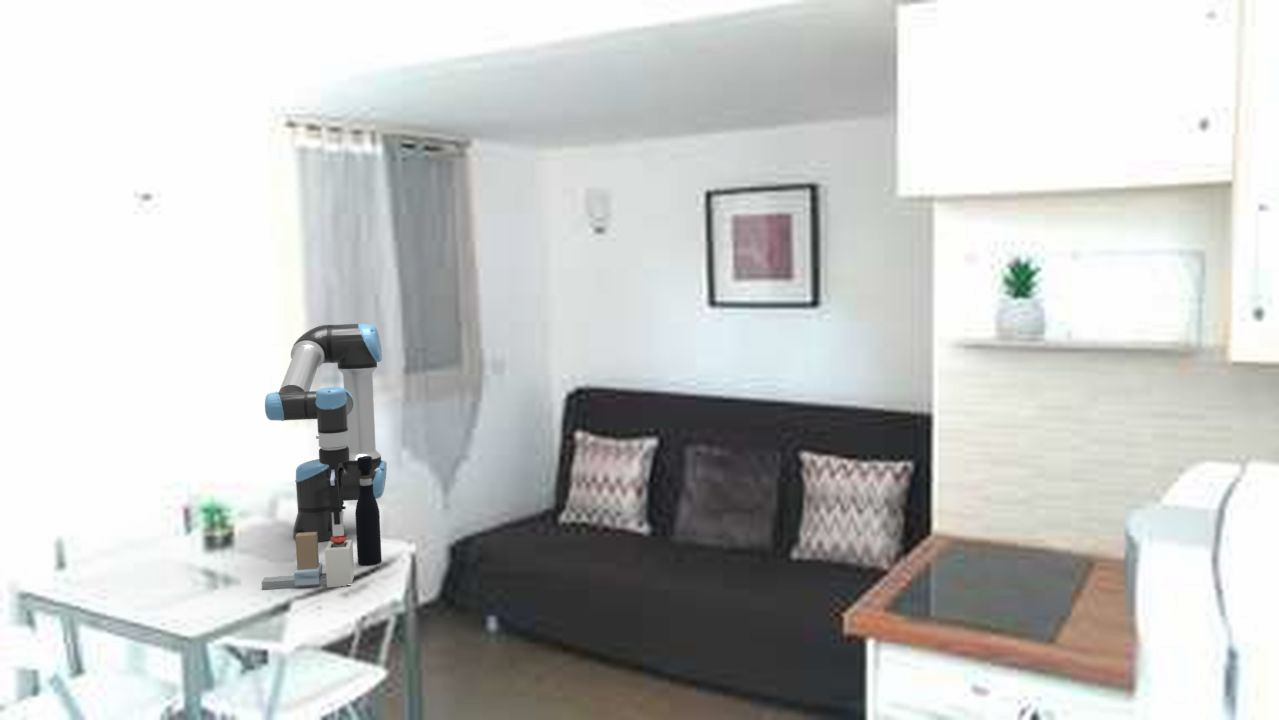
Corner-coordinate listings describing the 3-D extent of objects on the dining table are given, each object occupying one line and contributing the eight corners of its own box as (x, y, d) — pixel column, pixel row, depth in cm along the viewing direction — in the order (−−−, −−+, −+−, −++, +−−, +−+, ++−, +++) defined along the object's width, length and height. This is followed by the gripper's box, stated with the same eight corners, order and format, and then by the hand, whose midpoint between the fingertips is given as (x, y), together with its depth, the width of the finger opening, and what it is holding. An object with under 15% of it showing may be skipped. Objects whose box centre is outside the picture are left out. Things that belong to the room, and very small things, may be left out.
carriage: (299, 576, 261) (296, 531, 260) (322, 575, 262) (320, 529, 261) (294, 585, 254) (292, 538, 253) (318, 583, 256) (316, 537, 254)
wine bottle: (357, 567, 272) (352, 460, 268) (357, 560, 278) (352, 455, 274) (381, 564, 273) (376, 458, 270) (381, 557, 280) (376, 454, 276)
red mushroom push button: (333, 560, 261) (331, 535, 260) (348, 559, 262) (347, 534, 261) (331, 565, 257) (329, 539, 256) (346, 564, 258) (345, 538, 257)
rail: (265, 584, 259) (264, 577, 258) (330, 580, 261) (329, 572, 261) (261, 589, 255) (261, 582, 254) (328, 585, 257) (327, 577, 257)
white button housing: (331, 577, 263) (329, 541, 262) (354, 575, 264) (352, 539, 263) (327, 587, 255) (325, 550, 254) (350, 585, 256) (349, 548, 255)
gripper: (322, 442, 262) (327, 529, 264) (315, 453, 249) (320, 543, 252) (351, 441, 263) (355, 527, 266) (345, 451, 250) (350, 541, 253)
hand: (338, 535), depth 259 cm, fingers closed
